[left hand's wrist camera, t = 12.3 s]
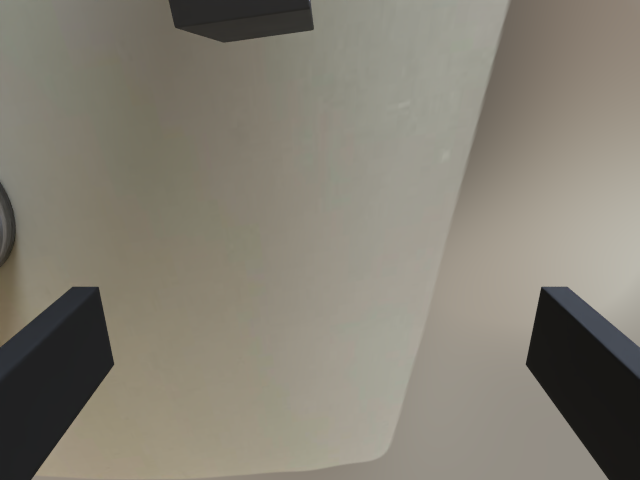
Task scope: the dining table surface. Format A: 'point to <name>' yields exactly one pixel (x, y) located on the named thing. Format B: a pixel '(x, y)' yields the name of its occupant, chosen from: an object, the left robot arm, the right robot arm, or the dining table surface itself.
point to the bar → (241, 18)
